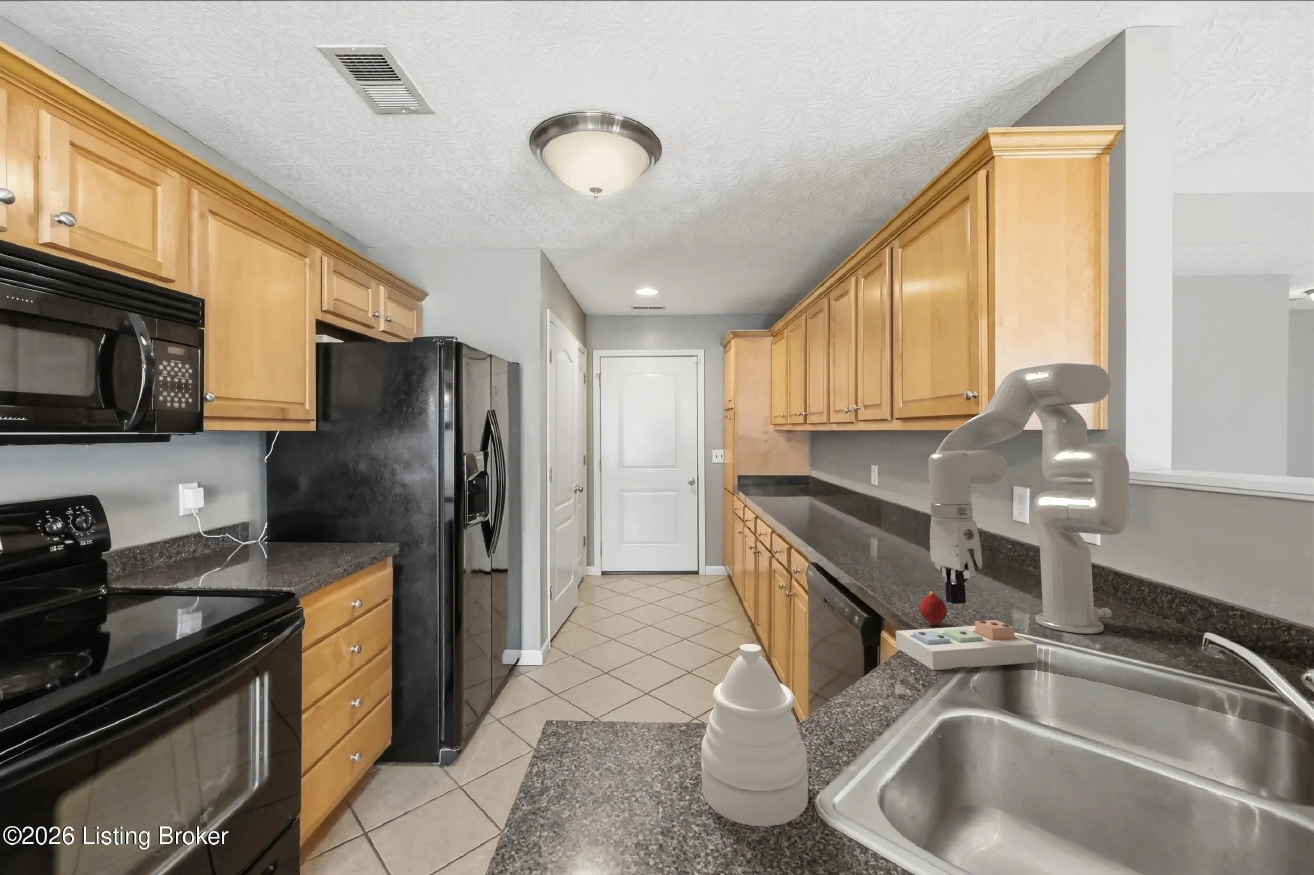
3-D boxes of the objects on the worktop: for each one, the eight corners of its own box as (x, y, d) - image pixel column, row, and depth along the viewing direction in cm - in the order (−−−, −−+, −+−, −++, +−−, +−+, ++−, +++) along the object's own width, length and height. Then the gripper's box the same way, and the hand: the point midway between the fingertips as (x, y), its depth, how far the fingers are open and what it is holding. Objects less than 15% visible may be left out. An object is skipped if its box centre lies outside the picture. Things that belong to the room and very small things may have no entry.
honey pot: (814, 832, 57) (809, 664, 58) (697, 820, 59) (693, 659, 60) (802, 764, 70) (798, 627, 71) (706, 756, 72) (703, 624, 73)
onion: (941, 621, 128) (939, 588, 128) (952, 629, 122) (950, 594, 122) (916, 621, 128) (915, 588, 129) (926, 629, 123) (924, 594, 123)
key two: (935, 645, 108) (934, 629, 109) (950, 654, 104) (950, 637, 104) (913, 647, 108) (912, 631, 108) (928, 655, 103) (927, 639, 103)
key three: (996, 634, 110) (995, 619, 110) (1014, 642, 106) (1013, 626, 106) (975, 635, 110) (974, 620, 110) (992, 643, 105) (992, 627, 105)
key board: (990, 641, 114) (990, 624, 114) (1037, 662, 102) (1036, 643, 102) (896, 647, 111) (895, 630, 111) (932, 670, 99) (932, 651, 99)
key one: (966, 643, 109) (965, 627, 109) (983, 651, 105) (982, 635, 105) (944, 645, 109) (944, 629, 109) (961, 653, 104) (960, 637, 104)
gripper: (995, 515, 101) (1000, 611, 100) (944, 507, 116) (948, 592, 115) (959, 517, 100) (964, 614, 99) (912, 509, 115) (916, 594, 114)
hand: (956, 602), depth 107 cm, fingers closed
